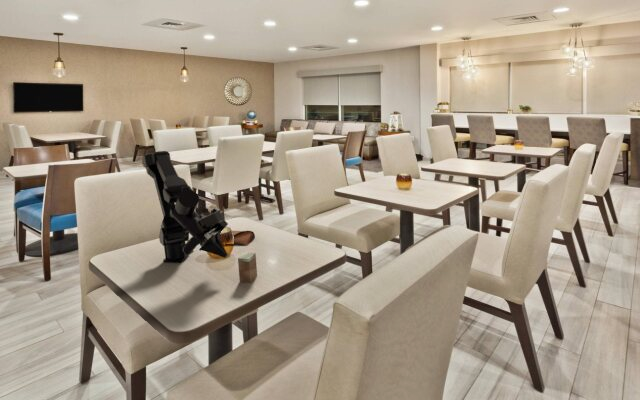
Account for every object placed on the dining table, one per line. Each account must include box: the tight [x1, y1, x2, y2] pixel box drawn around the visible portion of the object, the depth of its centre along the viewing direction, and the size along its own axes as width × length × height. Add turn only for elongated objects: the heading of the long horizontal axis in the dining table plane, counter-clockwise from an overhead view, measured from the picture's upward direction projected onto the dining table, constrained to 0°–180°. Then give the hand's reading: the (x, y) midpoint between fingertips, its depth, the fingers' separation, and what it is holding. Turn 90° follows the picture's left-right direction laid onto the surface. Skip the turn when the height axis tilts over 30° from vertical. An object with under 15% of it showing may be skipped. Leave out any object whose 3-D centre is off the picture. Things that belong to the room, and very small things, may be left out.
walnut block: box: [237, 251, 258, 284], centre depth 125 cm, size 4×5×8 cm
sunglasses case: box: [231, 230, 256, 246], centre depth 159 cm, size 18×7×7 cm, turn 83°
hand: (226, 256), depth 125 cm, fingers closed
